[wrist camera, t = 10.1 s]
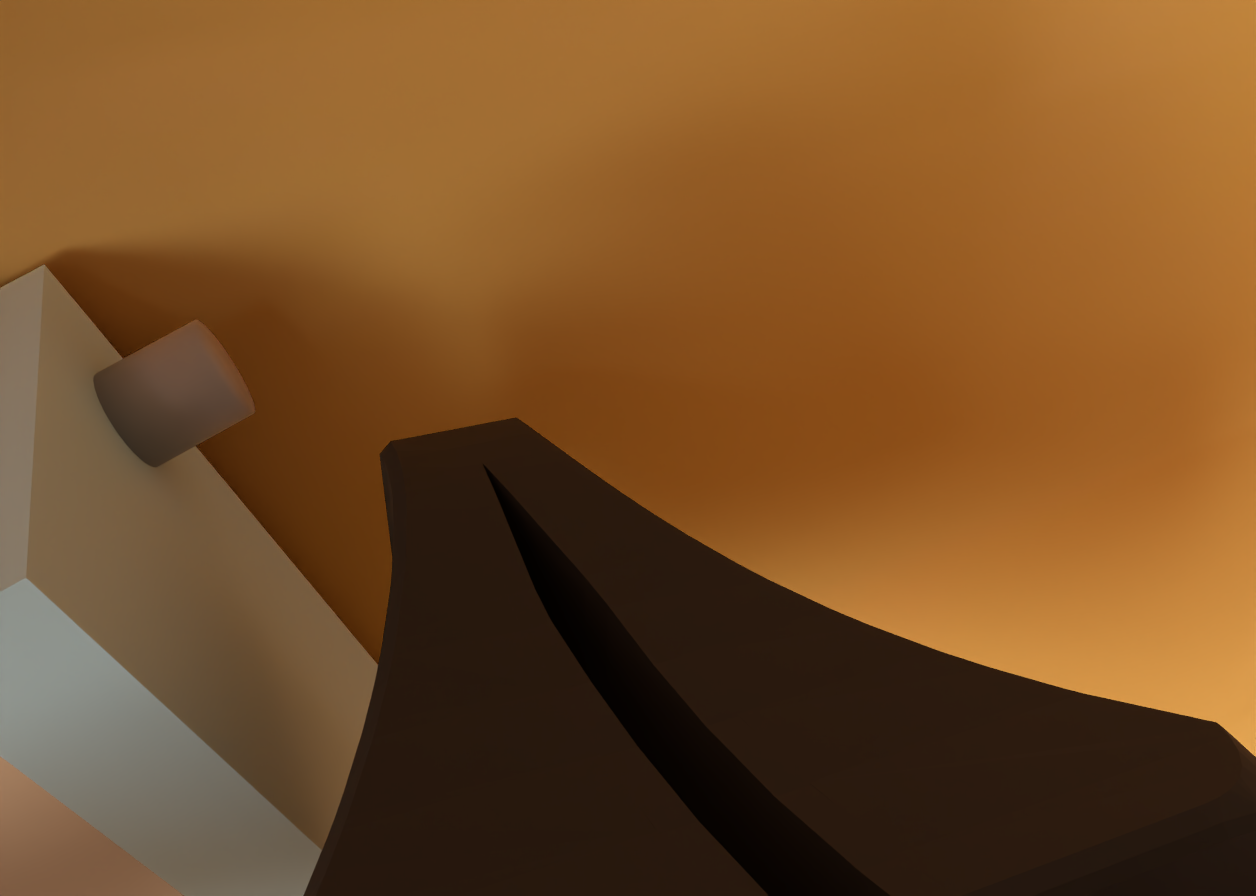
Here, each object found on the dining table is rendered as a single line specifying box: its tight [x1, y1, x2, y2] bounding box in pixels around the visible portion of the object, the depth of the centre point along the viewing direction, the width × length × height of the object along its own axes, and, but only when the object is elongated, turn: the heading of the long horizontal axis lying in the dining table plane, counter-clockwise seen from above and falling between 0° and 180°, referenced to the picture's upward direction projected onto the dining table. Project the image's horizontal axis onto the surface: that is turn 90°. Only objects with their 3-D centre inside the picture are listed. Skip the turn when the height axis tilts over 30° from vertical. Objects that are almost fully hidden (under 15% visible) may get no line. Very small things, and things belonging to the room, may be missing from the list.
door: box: [0, 264, 378, 896], centre depth 12 cm, size 12×2×5 cm, turn 21°
